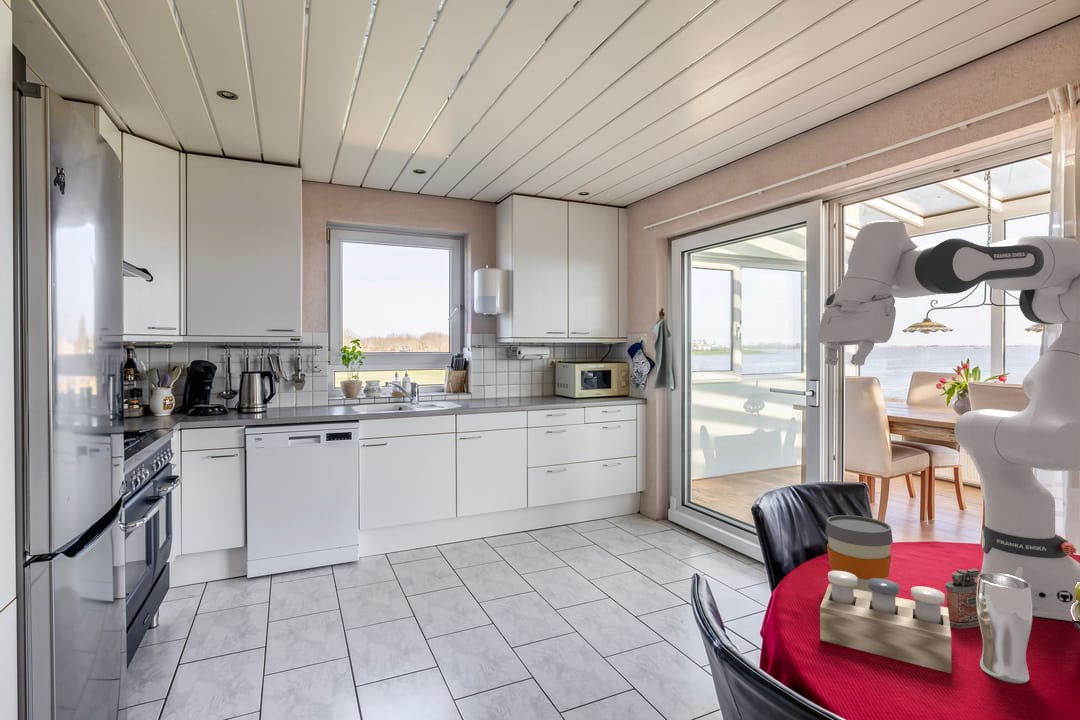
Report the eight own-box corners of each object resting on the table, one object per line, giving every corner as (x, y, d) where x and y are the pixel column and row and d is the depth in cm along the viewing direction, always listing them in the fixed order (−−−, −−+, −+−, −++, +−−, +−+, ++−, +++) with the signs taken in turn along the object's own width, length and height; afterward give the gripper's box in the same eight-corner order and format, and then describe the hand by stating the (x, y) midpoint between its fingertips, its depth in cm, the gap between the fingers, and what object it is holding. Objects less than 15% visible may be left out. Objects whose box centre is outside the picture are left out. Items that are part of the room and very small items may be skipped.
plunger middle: (900, 619, 99) (899, 581, 99) (899, 630, 95) (898, 591, 95) (869, 612, 102) (868, 576, 102) (867, 623, 98) (866, 585, 98)
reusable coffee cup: (890, 611, 109) (889, 537, 109) (821, 595, 117) (820, 525, 117) (895, 589, 119) (895, 521, 119) (831, 576, 127) (830, 511, 127)
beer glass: (976, 655, 93) (976, 568, 93) (1031, 670, 89) (1031, 578, 89) (976, 674, 88) (975, 581, 88) (1034, 691, 83) (1033, 593, 83)
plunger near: (944, 629, 95) (944, 590, 95) (945, 641, 91) (945, 600, 91) (911, 621, 98) (911, 584, 98) (911, 633, 94) (910, 594, 94)
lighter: (958, 630, 102) (957, 576, 102) (940, 621, 105) (940, 569, 105) (990, 623, 104) (990, 571, 104) (972, 615, 107) (971, 564, 107)
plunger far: (858, 610, 103) (858, 574, 103) (856, 620, 99) (856, 583, 99) (830, 603, 106) (829, 568, 105) (826, 613, 102) (826, 577, 102)
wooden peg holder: (948, 640, 98) (947, 607, 98) (951, 673, 88) (951, 636, 88) (829, 613, 109) (829, 583, 109) (820, 640, 99) (820, 607, 99)
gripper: (912, 296, 99) (891, 369, 99) (848, 308, 120) (830, 369, 120) (879, 286, 99) (858, 359, 99) (821, 300, 120) (803, 360, 119)
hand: (842, 364), depth 109 cm, fingers open, 8 cm apart
